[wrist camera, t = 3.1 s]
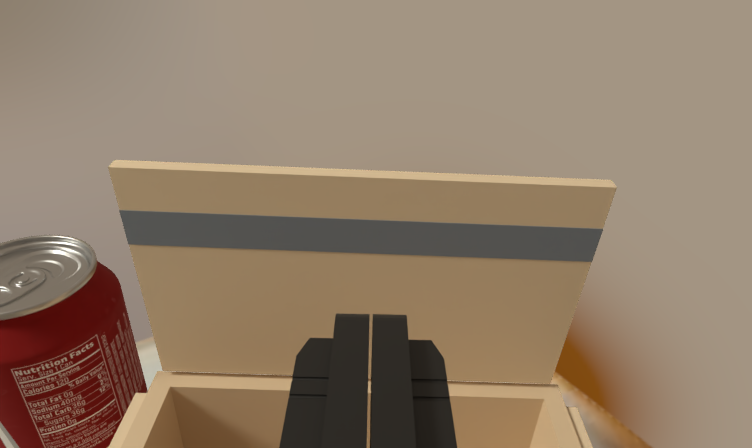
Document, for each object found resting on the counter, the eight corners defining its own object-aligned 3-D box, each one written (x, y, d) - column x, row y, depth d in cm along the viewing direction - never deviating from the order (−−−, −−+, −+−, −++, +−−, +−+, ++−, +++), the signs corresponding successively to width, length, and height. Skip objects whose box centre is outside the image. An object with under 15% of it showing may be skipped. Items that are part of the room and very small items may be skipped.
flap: (162, 371, 22) (107, 167, 17) (167, 361, 22) (115, 159, 17) (550, 384, 22) (617, 187, 17) (546, 374, 23) (610, 179, 17)
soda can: (186, 433, 29) (147, 251, 23) (81, 548, 24) (-7, 351, 18) (96, 389, 31) (39, 214, 25) (-19, 486, 26) (-127, 292, 20)
